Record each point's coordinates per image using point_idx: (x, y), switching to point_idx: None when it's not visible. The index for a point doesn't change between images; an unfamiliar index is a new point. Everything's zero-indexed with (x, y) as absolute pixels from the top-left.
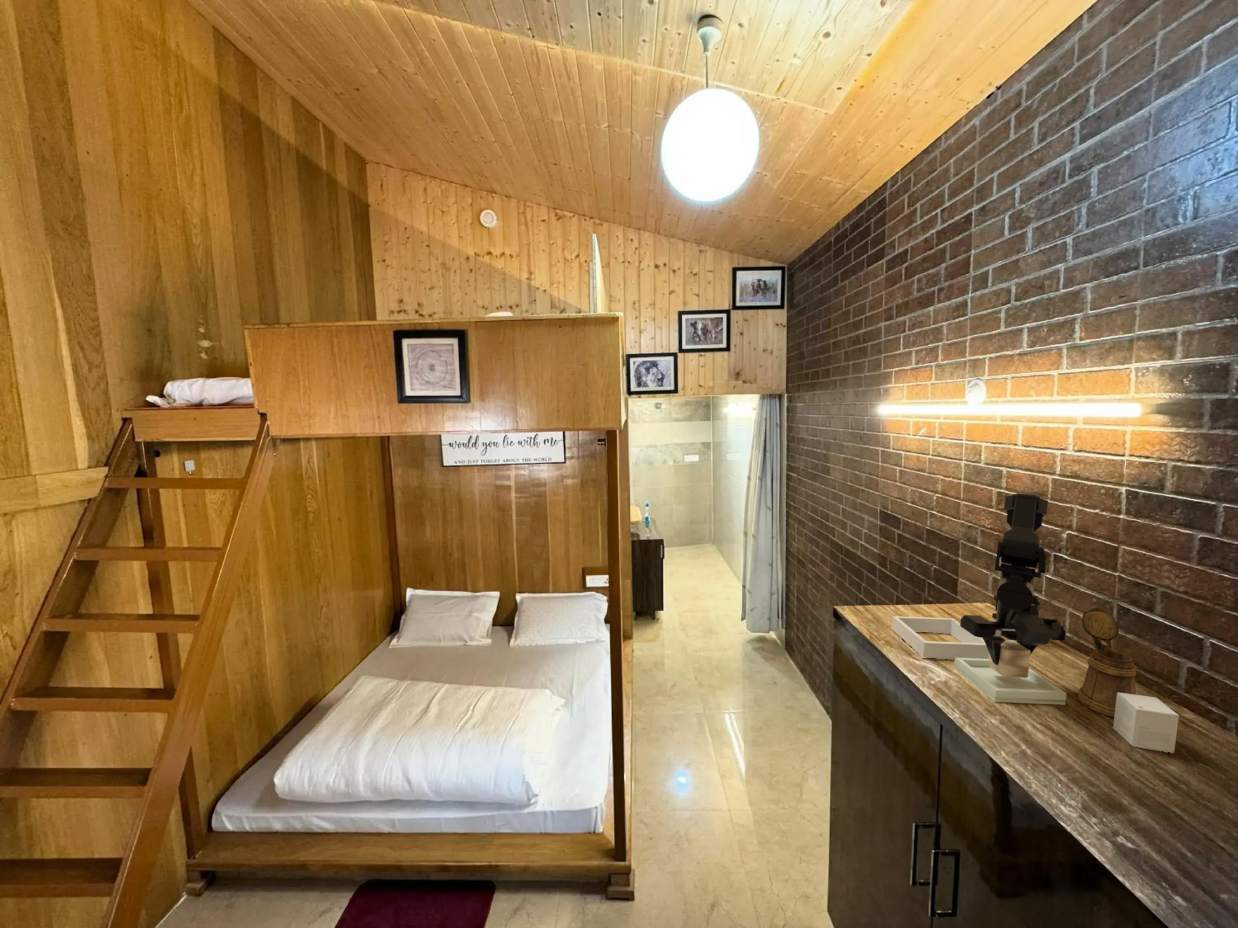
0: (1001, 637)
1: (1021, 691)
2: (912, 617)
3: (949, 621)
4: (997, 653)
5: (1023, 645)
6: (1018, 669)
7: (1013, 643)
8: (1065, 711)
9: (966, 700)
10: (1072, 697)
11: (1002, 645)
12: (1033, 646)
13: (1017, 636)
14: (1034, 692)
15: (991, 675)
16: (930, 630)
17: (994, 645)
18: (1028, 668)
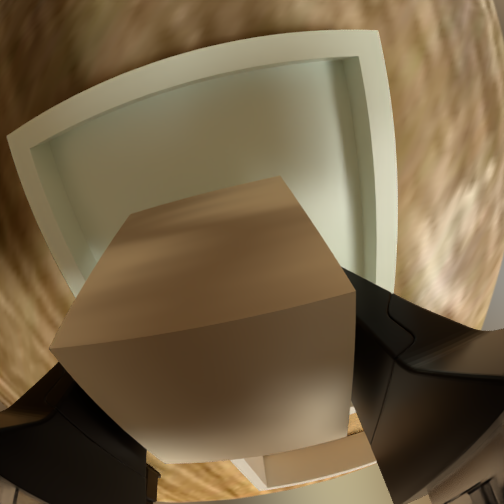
0: (471, 442)
1: (229, 43)
2: (363, 466)
3: (271, 482)
4: (363, 291)
5: (106, 424)
6: (182, 217)
7: (180, 439)
8: (58, 60)
9: (447, 48)
10: (8, 208)
11: (315, 391)
12: (30, 405)
13: (141, 491)
14: (149, 65)
15: None
16: (313, 451)
17: (456, 326)
18: (111, 242)
